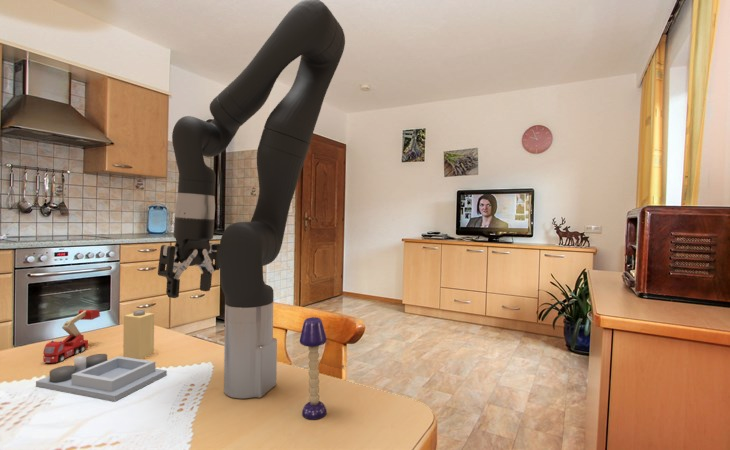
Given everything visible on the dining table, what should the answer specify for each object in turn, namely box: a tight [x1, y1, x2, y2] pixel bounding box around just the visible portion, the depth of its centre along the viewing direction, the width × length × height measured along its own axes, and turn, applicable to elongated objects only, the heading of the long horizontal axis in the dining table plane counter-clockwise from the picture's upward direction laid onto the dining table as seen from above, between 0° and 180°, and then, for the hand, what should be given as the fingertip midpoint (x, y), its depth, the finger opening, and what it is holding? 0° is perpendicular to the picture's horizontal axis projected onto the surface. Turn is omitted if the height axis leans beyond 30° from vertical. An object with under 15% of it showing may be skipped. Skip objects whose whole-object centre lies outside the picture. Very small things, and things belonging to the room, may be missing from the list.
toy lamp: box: [299, 316, 328, 421], centre depth 64 cm, size 5×5×17 cm
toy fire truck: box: [42, 309, 101, 364], centre depth 90 cm, size 3×14×10 cm, turn 179°
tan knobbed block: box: [122, 309, 155, 360], centre depth 90 cm, size 5×4×11 cm
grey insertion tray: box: [35, 353, 168, 402], centre depth 76 cm, size 20×12×4 cm, turn 74°
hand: (189, 293), depth 77 cm, fingers open, 8 cm apart
